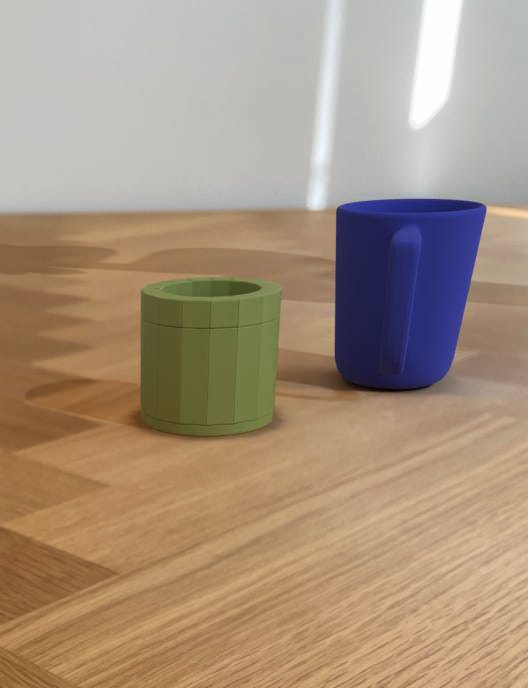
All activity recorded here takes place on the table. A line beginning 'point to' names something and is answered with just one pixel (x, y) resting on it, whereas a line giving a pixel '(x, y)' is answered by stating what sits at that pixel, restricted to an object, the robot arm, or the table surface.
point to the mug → (402, 287)
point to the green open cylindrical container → (209, 354)
